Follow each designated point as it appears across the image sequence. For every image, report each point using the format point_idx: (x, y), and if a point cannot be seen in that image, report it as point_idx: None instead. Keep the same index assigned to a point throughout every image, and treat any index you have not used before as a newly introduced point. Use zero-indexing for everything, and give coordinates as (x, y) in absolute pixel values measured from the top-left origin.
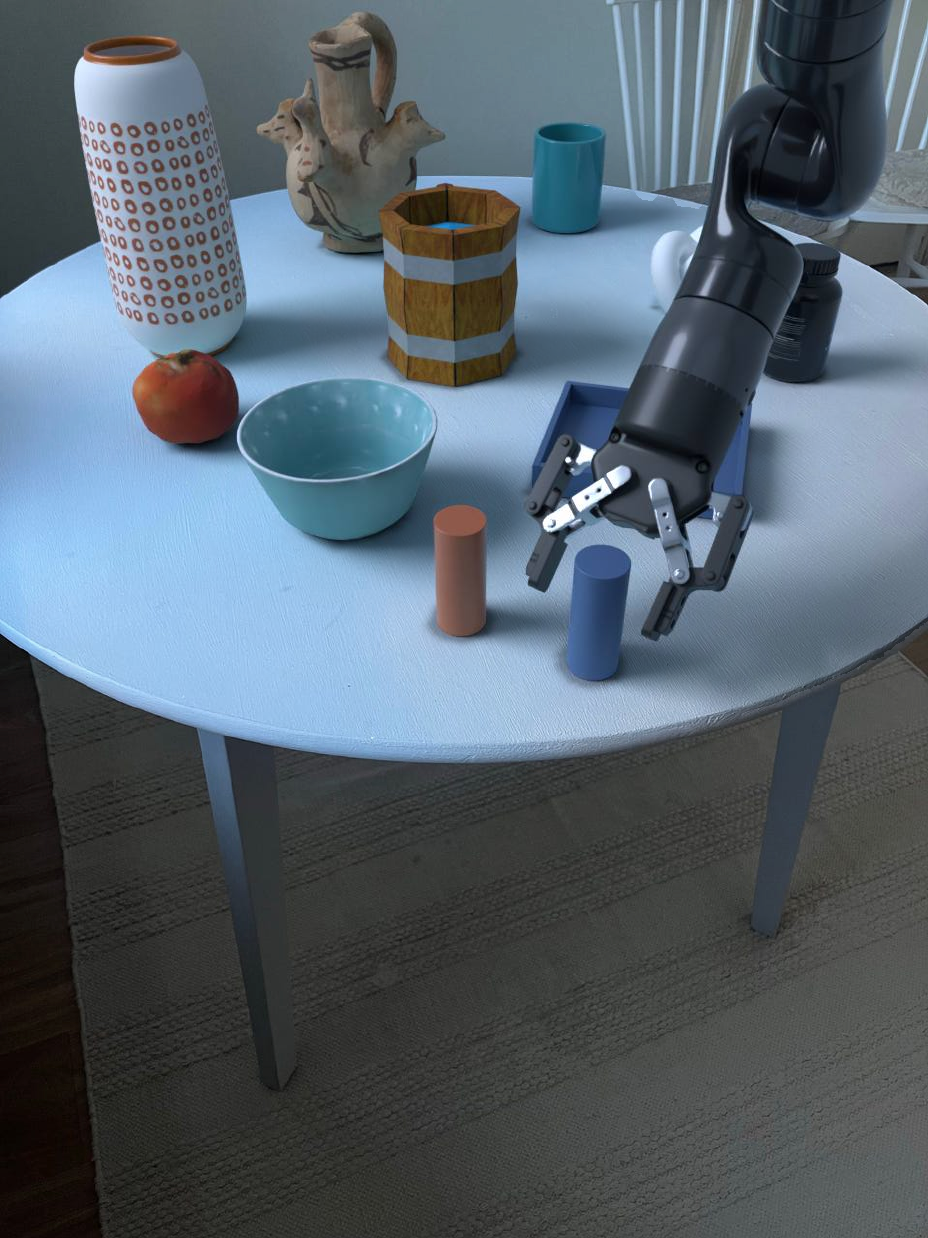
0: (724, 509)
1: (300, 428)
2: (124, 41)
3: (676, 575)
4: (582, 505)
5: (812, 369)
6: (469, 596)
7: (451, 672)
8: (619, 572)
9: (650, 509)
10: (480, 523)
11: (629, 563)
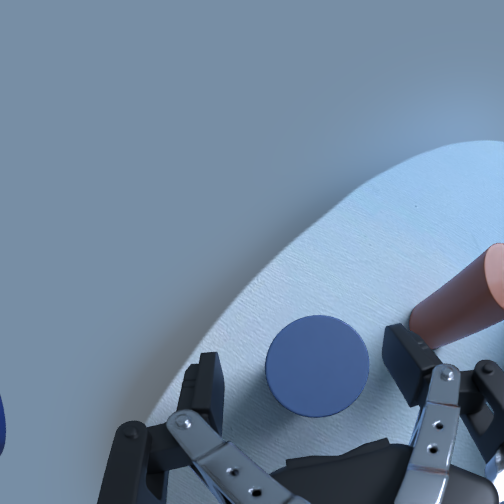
0: None
1: None
2: None
3: (187, 416)
4: (433, 412)
5: None
6: (434, 298)
7: (383, 269)
8: (274, 359)
9: (305, 496)
10: (495, 291)
11: (276, 394)
